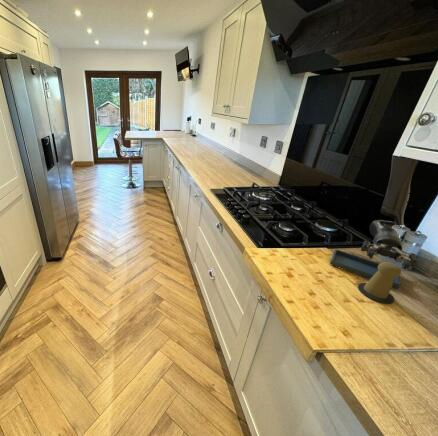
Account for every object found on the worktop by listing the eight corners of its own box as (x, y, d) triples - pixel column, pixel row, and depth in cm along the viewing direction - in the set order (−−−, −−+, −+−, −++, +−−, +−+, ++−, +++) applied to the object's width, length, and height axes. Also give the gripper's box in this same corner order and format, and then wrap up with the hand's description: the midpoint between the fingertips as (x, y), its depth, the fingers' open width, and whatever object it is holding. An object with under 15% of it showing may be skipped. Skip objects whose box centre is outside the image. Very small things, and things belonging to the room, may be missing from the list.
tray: (395, 274, 87) (398, 269, 86) (397, 289, 80) (400, 284, 79) (333, 252, 99) (335, 248, 98) (329, 264, 91) (331, 260, 90)
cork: (366, 283, 81) (382, 256, 76) (389, 293, 77) (407, 266, 72) (360, 289, 78) (376, 262, 73) (384, 301, 74) (402, 273, 69)
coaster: (393, 293, 78) (393, 292, 78) (394, 308, 72) (395, 307, 72) (358, 280, 83) (359, 279, 83) (356, 293, 77) (357, 292, 77)
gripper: (367, 228, 93) (366, 243, 82) (418, 242, 85) (424, 261, 74) (359, 244, 96) (356, 261, 85) (407, 259, 88) (411, 279, 77)
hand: (388, 261), depth 79 cm, fingers open, 8 cm apart
